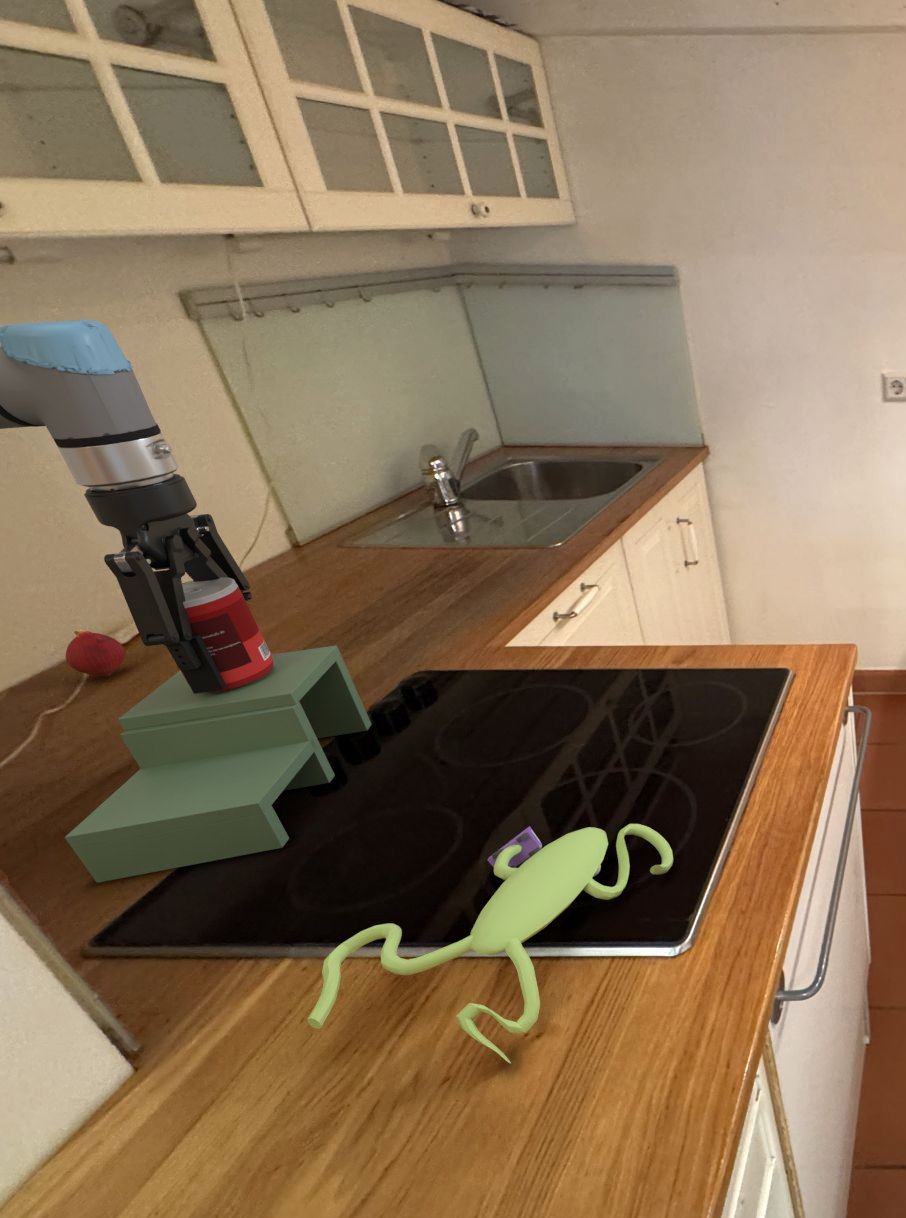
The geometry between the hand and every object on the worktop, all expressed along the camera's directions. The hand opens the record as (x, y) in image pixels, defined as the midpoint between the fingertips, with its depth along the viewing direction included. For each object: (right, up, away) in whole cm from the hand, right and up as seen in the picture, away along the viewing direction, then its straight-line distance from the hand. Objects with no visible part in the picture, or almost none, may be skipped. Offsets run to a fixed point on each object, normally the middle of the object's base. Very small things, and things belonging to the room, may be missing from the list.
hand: (231, 671), depth 89 cm
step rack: (+2, -14, 0) cm, 14 cm away
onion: (-45, -3, +28) cm, 53 cm away
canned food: (0, -1, 0) cm, 1 cm away
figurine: (+45, -23, -20) cm, 54 cm away
